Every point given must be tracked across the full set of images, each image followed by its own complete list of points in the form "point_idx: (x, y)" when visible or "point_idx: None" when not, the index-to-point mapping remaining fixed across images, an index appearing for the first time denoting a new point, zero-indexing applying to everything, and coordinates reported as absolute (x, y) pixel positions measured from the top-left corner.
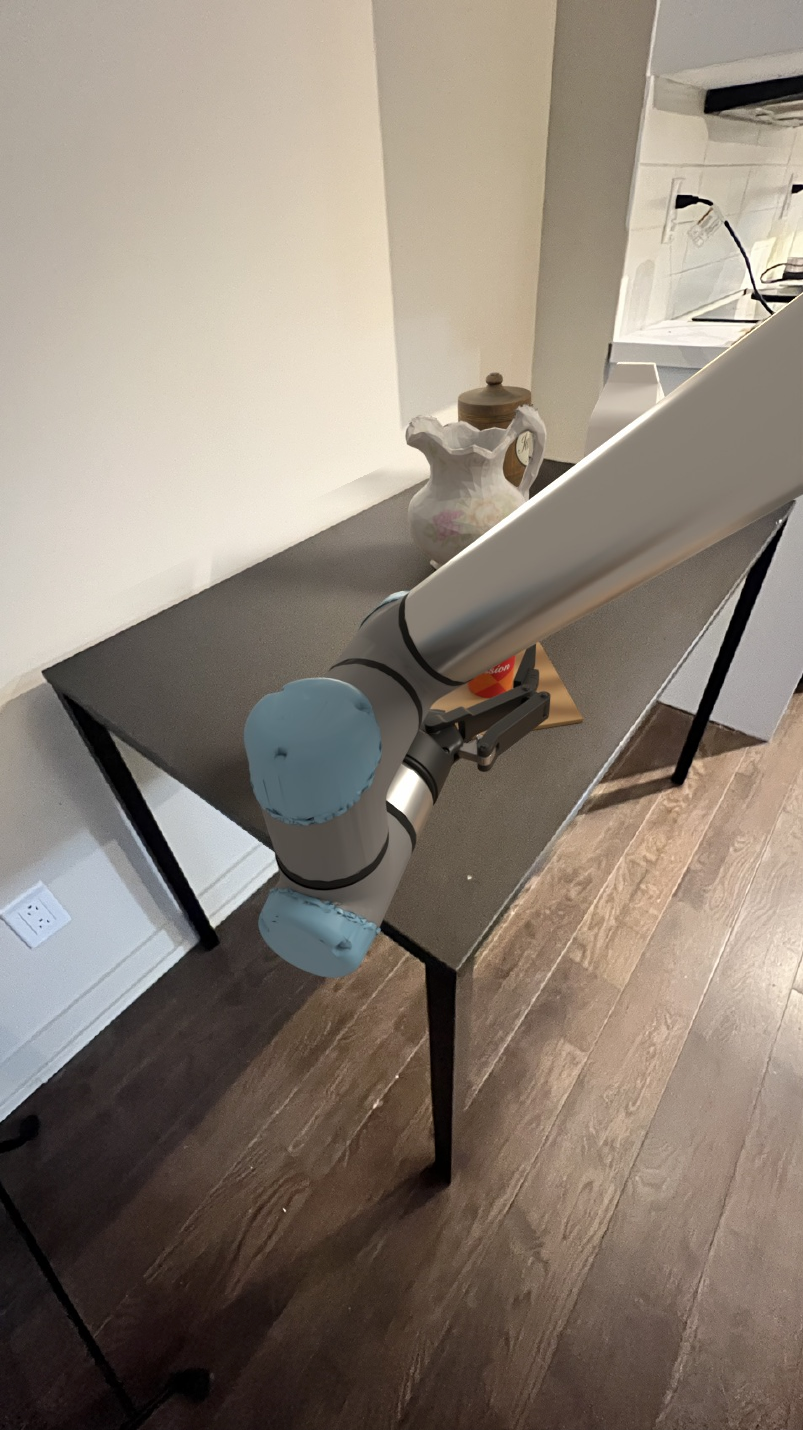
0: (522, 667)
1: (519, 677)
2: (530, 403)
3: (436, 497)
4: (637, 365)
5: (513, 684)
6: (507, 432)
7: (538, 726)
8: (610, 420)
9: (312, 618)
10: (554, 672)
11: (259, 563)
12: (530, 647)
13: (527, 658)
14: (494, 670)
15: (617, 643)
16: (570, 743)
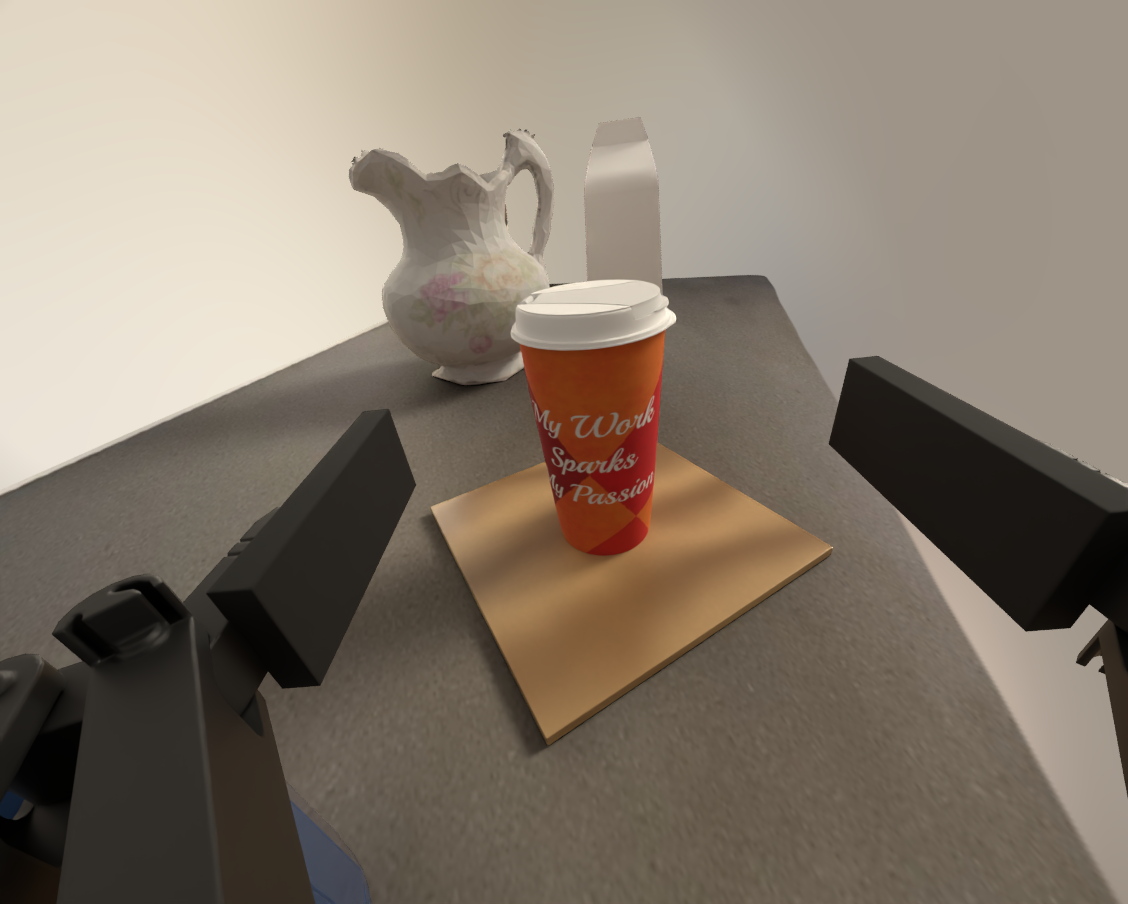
0: (999, 435)
1: (1099, 486)
2: (505, 208)
3: (419, 263)
4: (622, 121)
5: (1097, 537)
6: (501, 169)
7: (765, 594)
8: (608, 183)
9: (237, 482)
10: (700, 471)
11: (165, 422)
12: (881, 367)
13: (945, 398)
14: (629, 492)
15: (745, 410)
16: (859, 617)
